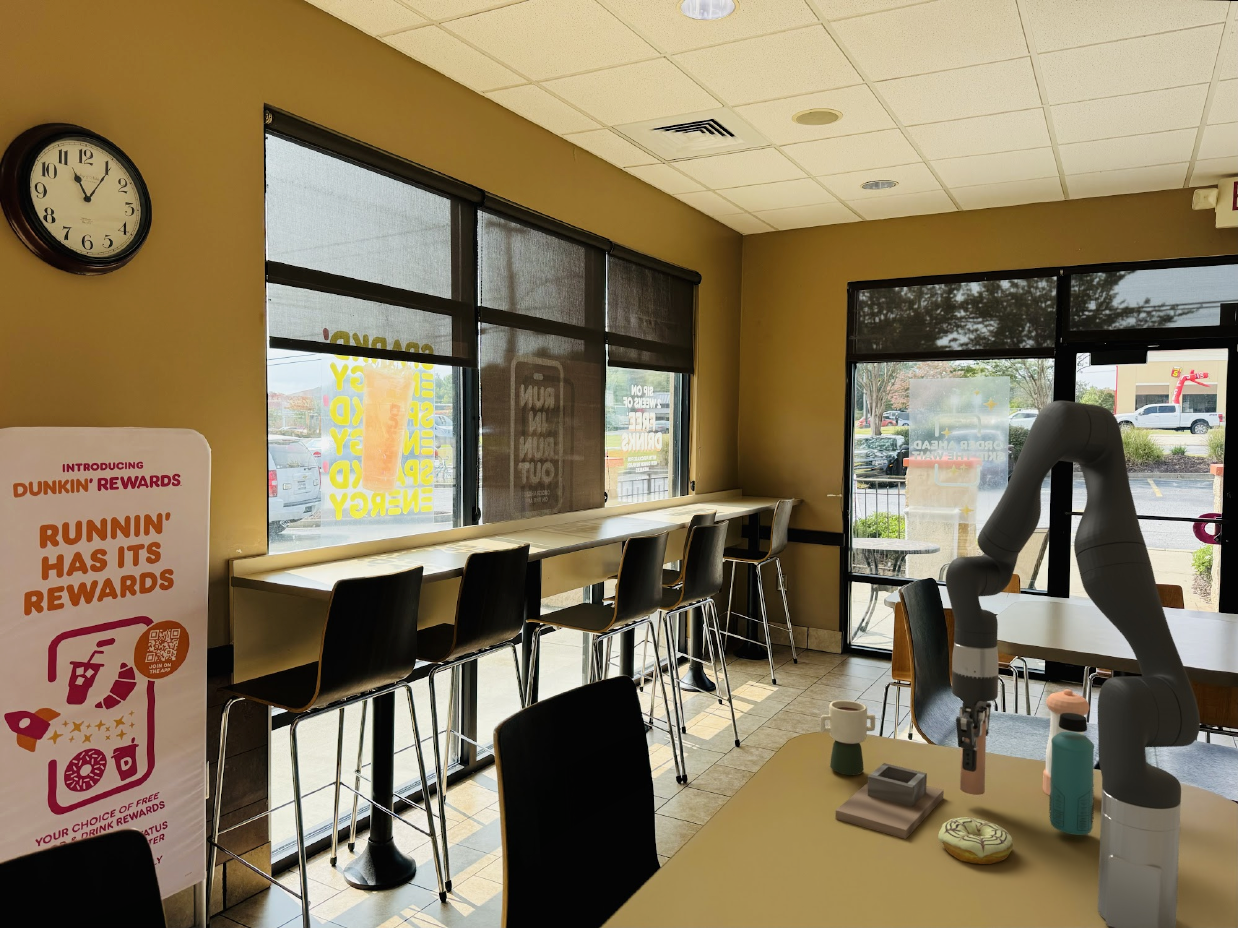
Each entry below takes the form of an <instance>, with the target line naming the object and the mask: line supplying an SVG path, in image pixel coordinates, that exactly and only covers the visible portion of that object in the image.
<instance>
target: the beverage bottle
mask: <svg viewBox="0 0 1238 928" xmlns="http://www.w3.org/2000/svg"><path fill="white" fill-rule="evenodd" d="M1087 721H1088V720H1087V716H1085V715H1084V716H1082V715H1080V714H1076V713H1062V714H1061V715H1060V720H1059V727H1060V728H1062V729H1064V730H1068V731H1073V732H1060V733H1058V734H1057V735H1055V736H1054V737H1053V738H1052V741H1051V742H1052V759H1051V778H1050V779H1051V781H1050V782H1051V785H1050V786H1051V792H1050V796H1049V795H1048V796H1049V798H1048V799H1049V801H1048V803H1049V807H1048V809H1049V810H1048V816H1049V817H1048V819H1049V822H1050V825H1051V826H1052V827H1053V829H1056V830H1058V831H1060V832H1063V833H1065V834H1066V833H1067V834H1070V835H1077V836H1078V835H1079V836H1083V835H1088V834H1091V832H1092V830H1093V827H1094V819H1095V818H1094V813H1095V812H1094V811H1095V810H1094V809H1095V806H1094V800H1095V790H1094V781H1095V778H1094V755H1095V754H1094V751H1095V750H1094V749H1095V744H1094V743H1093V742H1092V741H1091V739H1089V738H1088V737H1087V735H1082V734H1079V733H1074V732H1084V733H1085V732H1087V731H1088V725H1087V723H1088V722H1087Z"/></svg>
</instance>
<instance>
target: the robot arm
mask: <svg viewBox="0 0 1238 928" xmlns="http://www.w3.org/2000/svg"><path fill="white" fill-rule="evenodd" d="M1121 431H1122V430H1121V427H1120V424H1119V422H1118V420H1117V418H1116V416H1115V415H1114V413H1113V412H1112V411H1110V410H1109V409H1108V408H1106V407H1105V406H1100V405H1096V404H1090V403H1083V402H1075V401H1071V400H1070V401H1069V400H1055V401H1051V402H1050V403H1048V404H1046V405H1045V406H1044V407H1043V408H1042V409H1041V410H1040V411H1039V412H1038V414H1037V416H1036V418H1035V419H1034V421H1033V424H1032V425H1031V427H1030V429H1029V432H1028V434H1027V436H1026V439H1025V441H1024V444H1023V446H1022V448H1021V451H1020V454H1019V455H1018V458H1017V461H1016V463H1015V466H1014V468H1013V470H1012V473H1011V476H1010V478H1009V481H1008V484H1007V486H1006V488H1005V490H1004V492H1003V494H1002V496H1001V498H1000V500H999V501H998V503H997V505H996V506H995V508H994V510H993V511H992V513H990V516H989V517H988V519H987V520H986V522H985V524H984V525H983V527H982V529H981V530H980V531H979V534H978V536H977V546H978V547H979V549H980V551H981V552H982V553H983V554H982V555H973V556H972V555H971V556H960V557H956V558H955V559H953V560H952V561H951V562H950V563H949V565H948V567H947V569H946V573H945V587H946V590H947V594H948V598H949V602H950V607H951V611H952V614H953V618H954V636H953V637H954V641H953V650H952V657H951V658H952V661H951V662H952V663H951V664H952V665H951V668H952V669H951V673H952V674H951V693H952V694H953V696H955V697H956V698H959V699H960V700H962V706H960V707H959V716H956V718H955V724H956V735H957V746H958V748H960V749H961V748H963V758H962V768H963V769H964V770H967V771H972V772H974V771H975V770H976V769H977V749H978V746H977V745H978V738H979V737H981V734H982V723H983V722H984V723H986V737H988V736H989V733H990V732H989V728H990V719H991V708H992V703H991V702H994V701H995V700H997V698H998V697H999V696H998V695H999V652H998V633H999V632H998V630H999V628H998V625H999V624H998V619H997V618H998V617H997V615H996V614H995V613H994V612H992V611H991V610H987V609H983V608H982V606H981V603H980V598H979V597H988V596H989V597H992V596H996V595H998V594H1000V593H1002V592H1003V591H1004V590H1006V588H1007V587H1008V586H1009V584H1010V583H1011V580H1012V578H1013V575H1014V571H1015V568H1016V566H1017V562H1018V557H1019V554H1020V553H1021V552H1022V550H1023V549H1024V548H1025V545H1026V544H1027V543H1028V541H1029V540H1030V539H1031V537H1032V536H1033V534H1034V533H1035V531H1036V529H1037V528H1038V525H1039V521H1040V519H1041V515H1042V513H1041V512H1042V498H1041V497H1042V496H1041V495H1042V494H1041V493H1042V486H1043V483H1044V481H1045V479H1046V477H1047V475H1048V474H1049V472H1050V471H1051V470H1052V468H1053V467H1054V466H1055V465H1056V464H1057V463H1058V462H1059V461H1060V462H1061V461H1062V462H1067V463H1074V464H1075V463H1076V464H1078V465H1079V467H1080V469H1081V472H1082V475H1083V479H1084V484H1085V485H1084V486H1085V489H1086V490H1085V491H1086V503H1085V504H1086V505H1085V508H1084V509H1083V510H1084V511H1083V513H1082V515H1081V518H1080V519H1079V520H1080V521H1079V523H1078V526H1077V529H1076V533H1075V538H1074V542H1073V543H1074V544H1073V547H1074V556H1075V559H1076V563H1077V567H1078V572H1079V576H1080V580H1081V583H1082V587H1083V589H1084V591H1085V593H1086V594H1087V596H1088V597H1089V599H1091V601H1092V603H1093V604H1094V605H1095V606H1096V608H1097V609H1099V611H1100V612H1101V613H1102V614H1103V616H1104V617H1105V618H1107V619H1108V621H1109V622H1110V623H1112V625H1113V626H1114V627H1115V628H1116V629H1117V630H1118V632H1120V634H1121V635H1122V636H1123V638H1124V639H1125V640H1126V642H1128V644H1129V647H1130V648H1131V650H1132V652H1133V653H1134V657H1135V659H1136V661H1137V664H1138V667H1139V669H1140V672H1141V673H1140V674H1141V676H1138V675H1137V676H1132V675H1131V676H1113V677H1110V678H1107V679H1106V680H1105V681H1104V683H1102V685H1101V687H1100V689H1099V690H1100V691H1099V693H1098V699H1097V735H1098V738H1097V739H1098V741H1097V742H1098V748H1097V749H1098V764H1099V769H1100V773H1101V774H1100V775H1101V778H1102V779H1101V808H1100V834H1099V835H1100V837H1099V838H1100V839H1099V865H1098V891H1097V893H1098V894H1097V895H1098V896H1097V899H1098V900H1097V910H1098V913H1099V915H1100V916H1101V918H1103V919H1104V920H1105V925H1106V926H1108V927H1110V928H1177V912H1178V911H1177V908H1178V879H1179V877H1178V876H1179V856H1180V855H1179V853H1180V852H1179V851H1180V849H1179V848H1180V825H1181V802H1182V787H1181V782H1180V781H1179V779H1178V778H1177V777H1176V776H1174V774H1172V773H1170V772H1168V771H1166V770H1164V769H1162V768H1160V767H1157V766H1155V765H1152V764H1148V763H1147V758H1146V757H1147V756H1146V748H1173V747H1175V748H1177V747H1188V746H1190V745H1192V744H1194V742H1195V741H1196V740H1197V738H1198V736H1199V734H1200V727H1201V718H1200V711H1199V705H1198V702H1197V698H1196V696H1195V693H1194V690H1193V687H1192V685H1191V681H1190V679H1189V676H1188V673H1187V671H1186V669H1185V666H1184V663H1183V661H1182V659H1181V656H1180V653H1179V650H1178V649H1177V646H1176V643H1175V641H1174V638H1173V635H1172V633H1171V629H1170V627H1169V624H1168V621H1167V617H1166V614H1165V611H1164V607H1163V605H1162V601H1161V596H1160V593H1159V590H1158V587H1157V582H1156V579H1155V573H1154V570H1153V566H1152V562H1151V558H1150V556H1149V555H1150V554H1149V551H1148V548H1147V545H1146V542H1145V541H1146V540H1145V538H1144V536H1143V533H1142V530H1141V526H1140V522H1139V518H1138V514H1137V510H1136V506H1135V502H1134V498H1133V493H1132V489H1131V484H1130V481H1129V473H1128V467H1127V461H1126V454H1125V448H1124V441H1123V436H1122V432H1121ZM973 729H977V731H976V732H974V731H973ZM966 738H968V739H969V742H967V741H966Z"/></svg>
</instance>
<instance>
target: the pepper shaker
mask: <svg viewBox="0 0 1238 928" xmlns="http://www.w3.org/2000/svg"><path fill="white" fill-rule="evenodd" d="M1045 702H1046V705H1047V708H1048V710H1049V711H1050V718H1049V719H1050V722H1049V724H1050V725H1049V735H1048V741H1047V745H1046V750H1045V768H1044V769H1043V771H1042V772H1043V773H1042V776H1043V777H1042V791H1043V792H1044V793H1045V794H1046V795H1048V796H1050V792H1051V786H1050V785H1051V782H1050V781H1051V779H1050V778H1051V759H1052V742H1051V741H1052V738H1053V737H1054V736H1055V735H1057V734H1058V733H1060V732H1073V731H1068V730H1064V729H1062V728H1060V727H1059V720H1060V715H1061V714H1062V713H1076V714H1080V715H1082V716H1084V717H1085V716H1086V715H1087V714H1088V713H1089V711H1090V704H1089V701H1087V699H1086V698H1085V697H1083V696H1081V695H1080V694H1078V693H1074V692H1073V690H1071V689H1070V688H1069V689H1067V688H1066V689H1063V690H1062V691H1056V692H1053V693H1051V694H1049V695H1048V697H1047V698H1046V701H1045ZM1074 733H1079V734H1082V735H1084V733H1085V732H1074ZM1084 736H1085V735H1084Z"/></svg>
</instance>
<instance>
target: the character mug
mask: <svg viewBox="0 0 1238 928" xmlns="http://www.w3.org/2000/svg"><path fill="white" fill-rule="evenodd" d="M868 720H869V721H870V725H868ZM826 721H828V726H826ZM875 729H876V715H875V714H873V713H868V707H867V705H866V704H864V703H861V702H858V701H854V700H844V699H841V700H840V699H839V700H833V701H831V702H830V703H829V706H828V714H823V715H820V718H819V730H820V732H822V733H829V736H830V738H831V739H833V740H834V742H833V744H832V751H831V756H830V762H829V763H830V766H829V767H830V769H831V770H833V771H834V772H837V773H839V774H842V775H847V776H857V775H859V774H862V773H863V771H864V769H865V768H864V760H863V750H862V746H861V743H863V742H865V740H866V738H867V735H868V734H867V733H868V732H873V731H875Z"/></svg>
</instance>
